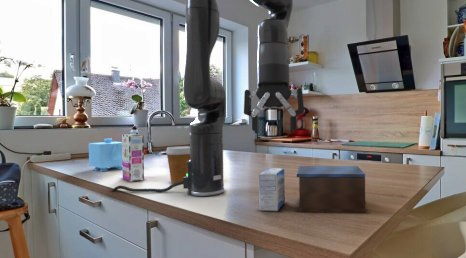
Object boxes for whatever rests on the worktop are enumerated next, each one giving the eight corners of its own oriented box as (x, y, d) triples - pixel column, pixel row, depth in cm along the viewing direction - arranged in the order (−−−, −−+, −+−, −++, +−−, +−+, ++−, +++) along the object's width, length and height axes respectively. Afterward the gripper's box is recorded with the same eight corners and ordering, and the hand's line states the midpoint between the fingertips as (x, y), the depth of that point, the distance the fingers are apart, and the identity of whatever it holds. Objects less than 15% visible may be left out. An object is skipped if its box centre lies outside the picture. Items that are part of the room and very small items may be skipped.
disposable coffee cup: (162, 181, 103) (162, 147, 102) (190, 178, 109) (189, 145, 108) (170, 186, 95) (169, 149, 95) (199, 182, 101) (198, 147, 101)
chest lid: (296, 177, 66) (296, 173, 66) (299, 168, 78) (299, 165, 78) (365, 177, 65) (365, 173, 65) (357, 169, 77) (357, 166, 77)
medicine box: (277, 212, 67) (277, 173, 66) (258, 211, 67) (258, 173, 67) (285, 202, 74) (284, 168, 74) (268, 201, 75) (267, 167, 75)
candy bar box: (145, 180, 105) (144, 134, 105) (129, 182, 102) (128, 135, 101) (136, 176, 113) (135, 133, 113) (122, 178, 110) (120, 134, 110)
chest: (299, 211, 66) (299, 177, 66) (301, 198, 78) (301, 169, 78) (365, 212, 65) (365, 177, 65) (357, 199, 77) (357, 169, 77)
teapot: (87, 168, 134) (86, 138, 134) (113, 165, 143) (112, 137, 142) (106, 173, 120) (105, 140, 120) (134, 170, 129) (133, 138, 129)
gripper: (303, 67, 74) (304, 132, 74) (247, 68, 75) (248, 132, 75) (302, 60, 66) (303, 133, 67) (240, 62, 67) (241, 133, 68)
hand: (274, 132), depth 71 cm, fingers open, 8 cm apart
